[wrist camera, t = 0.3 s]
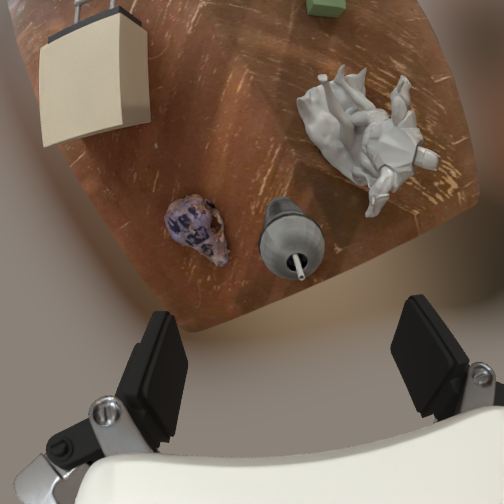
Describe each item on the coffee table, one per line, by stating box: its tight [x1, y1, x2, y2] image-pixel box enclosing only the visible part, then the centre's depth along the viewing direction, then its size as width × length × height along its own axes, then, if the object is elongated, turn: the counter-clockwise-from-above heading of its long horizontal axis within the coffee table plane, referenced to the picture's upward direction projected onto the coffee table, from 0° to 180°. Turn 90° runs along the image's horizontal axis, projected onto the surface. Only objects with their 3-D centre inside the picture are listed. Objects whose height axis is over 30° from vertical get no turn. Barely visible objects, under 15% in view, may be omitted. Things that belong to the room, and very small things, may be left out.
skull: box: [164, 194, 230, 267], centre depth 39 cm, size 12×8×6 cm, turn 24°
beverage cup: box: [258, 197, 325, 280], centre depth 31 cm, size 7×7×20 cm
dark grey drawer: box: [48, 0, 142, 44], centre depth 24 cm, size 20×11×8 cm, turn 3°
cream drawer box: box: [39, 13, 151, 147], centre depth 27 cm, size 15×13×10 cm
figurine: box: [297, 65, 440, 217], centre depth 27 cm, size 18×13×18 cm
